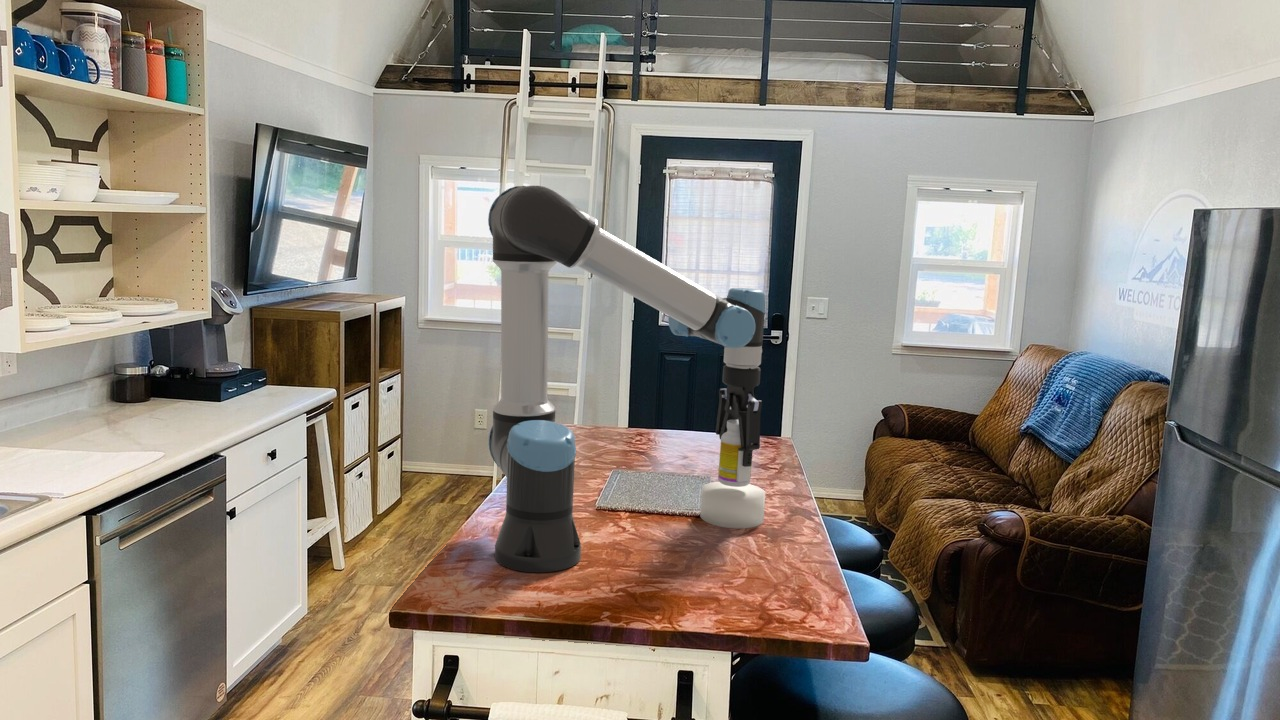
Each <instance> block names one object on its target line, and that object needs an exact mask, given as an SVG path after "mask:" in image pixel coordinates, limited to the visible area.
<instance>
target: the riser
mask: <svg viewBox="0 0 1280 720" xmlns="http://www.w3.org/2000/svg"><path fill="white" fill-rule="evenodd" d="M701 487H702V488H701V497H700V498H701V501H700V515H699V517H700V519H701V520H703V521H704V522H706V523H708V524H711V525H712V526H716V527H720V528H727V529H751V528H755V527H758V526H761V525H762V524H763V523H764V519H765V504H766V491H765V490H764V489H763V488H761V487H759V486H757V485H755V484H754V485H753V484H751V483H749V484H748V485H747V486H742V487H734V486H727V485H724V484H722V483H720V482H719V481H713V482H708V483H706V484H704V485H702V486H701Z"/></svg>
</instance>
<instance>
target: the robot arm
mask: <svg viewBox="0 0 1280 720" xmlns="http://www.w3.org/2000/svg"><path fill="white" fill-rule="evenodd" d="M487 219H488V221H487V222H488V227H489V229H488V230H489V232H490V235H491V236H492V262H493V263H494V264H495V265H496V266H497V267H498V268H499V270H500V272H501V273H500V274H501V275H500V278H501V279H500V282H501V283H500V285H501V287H500V291H501V292H500V293H501V295H500V296H501V297H500V298H501V301H500V303H501V304H500V305H501V306H500V307H501V309H500V316H501V317H500V318H501V319H500V324H501V325H500V326H501V327H500V329H501V330H500V353H501V354H500V355H501V356H500V358H501V359H500V361H501V362H500V368H501V369H500V374H501V375H500V384H501V386H500V387H501V388H500V393H501V394H500V399H499V401H498V402H497V403H496V404H495V405H494V406H493V407H492V426H491V427H490V430H489V434H488V449H489V453H490V456H491V458H492V460H493V461H494V463H495V465H496V466H497V467H498V468H499V469H500V470H501V471H502V473H503V474H504V476H505V477H506V499H505V500H506V501H505V502H506V507H505V509H506V510H505V515H504V516H505V517H504V519H503V521H502V524H501V527H500V529H499V533H498V536H497V539H496V541H495V545H494V559H495V561H496V562H497V563H498V564H499V565H501V566H502V567H505V568H508V569H510V570H514V571H518V572H519V571H520V572H527V573H551V572H559V571H563V570H566V569H569V568H571V567H574V566H575V565H577V564H578V563H579V562H580V560H581V557H582V555H581V553H582V544H581V542H580V541H581V540H580V538H579V533H578V530H577V527H576V524H575V521H574V516H573V511H574V510H573V509H574V506H573V505H574V486H575V485H574V484H575V483H574V482H575V461H576V455H577V446H576V439H575V434H574V432H573V431H572V430H571V428H569V427H568V426H566V425H564V424H562V423H557V422H556V406H554V404H553V403H552V402H551V401H550V400H549V399H548V377H549V376H548V375H549V374H548V370H549V369H548V367H549V366H548V365H549V364H548V363H549V362H548V360H549V357H548V356H549V354H548V353H549V351H548V350H549V343H548V342H549V272H550V271H551V269H552V268H553V267H555V266H556V264H557V263H559V264H561V265H563V266H565V267H567V268H568V269H572V268H575V267H579V268H581V269H582V270H584V271H586V272H588V273H590V274H591V275H593V276H595V277H597V278H598V279H600V280H602V281H604V282H605V283H608V284H610V285H611V286H613V287H615V288H617V289H619V290H621V291H622V292H624V293H626V294H628V295H629V296H631V297H633V298H635V299H637V300H639V301H641V302H642V303H645V304H646V305H648V306H650V307H652V308H653V309H655V310H657V311H659V312H661V313H662V314H664V315H666V316H668V317H667V318H668V321H667V322H668V328H669V329H670V331H671V333H672V334H673V335H674V336H682V337H686V338H688V337H698V338H700V339H704V340H707V341H710V342H713V343H715V344H718V345H721V346H723V347H724V349H723V352H724V353H723V363H724V365H723V369H722V383H723V384H725V385H726V386H727V387H726V388H719V389H718V408H717V417H716V425H715V434H716V435H717V436H719V440H720V441H721V436H722V435H723V434H724V433H725V432H727V421H728V420H739V430H740V440H741V448H738V450H739V452H738V466H737V480H736V481H737V482H745V481H750V482H751V479H750V474H751V475H752V466H751V464H753V452H754V451H756V450H759V449H760V448H761V444H760V443H761V413H762V408H763V407H762V406H763V401H762V400H760V399H758V400H757V399H756V398H755V393H754V392H755V391H754V389H755V388H756V387H758V386H759V385H760V382H761V372H762V371H761V367H759V366H760V365H761V364H762V353H763V348H762V347H763V339H764V328H765V327H764V326H765V315H766V313H767V312H766V295H765V292H764V291H763V290H761V289H756V288H749V287H745V288H744V287H736V288H735V287H732V288H730V289H729V290H728V293H727V295H726V297H723V298H722V297H720V296H719V295H717V294H715V293H713V292H712V291H710V290H709V289H706V287H703V286H701V285H699V284H698V283H696V282H694V281H693V280H691V279H689V278H687V277H685V275H682V274H680V273H679V272H677V271H675V270H674V269H672V268H670V267H669V266H667V265H665V264H664V263H661V262H660V261H658V260H657V259H655V258H653V257H651V256H650V255H648V254H646V253H645V252H643V251H641V250H639V249H638V248H636V247H634V246H633V245H632V244H631V245H630V244H629V243H627V242H625V241H624V240H622V239H620V238H619V237H617V236H615V235H613V234H611V233H610V232H608V231H606V230H604V229H603V228H601V227H600V226H599V222H598V219H597V218H596V217H594V216H592V215H591V214H589V213H587V212H586V211H585V210H583V209H582V208H580V207H579V206H577V205H575V204H574V203H572V202H571V201H569V200H568V199H566V198H565V197H564V196H562V195H561V194H559V193H558V192H556V191H555V190H553V189H551V188H548V187H546V186H542V185H517V186H513V187H510V188H507V189H506V190H504V191H502V192H501V193H500V194H499V195H498V196H497V197H496V198H495V200H493V202H492V204H491V205H490V208H489V212H488V217H487Z"/></svg>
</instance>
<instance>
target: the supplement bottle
mask: <svg viewBox="0 0 1280 720" xmlns="http://www.w3.org/2000/svg"><path fill="white" fill-rule="evenodd" d="M719 446H720V449H719V460H718V461H719V462H718V474H717V481H718V482H720V483H722V484H724V485H727V486H734V487H742V486H747V485H748V484H751V477H752V473H751V474H750V481H745V482H737V481H736V480H737V466H738V452H739V450H738V448H741V440H740V430H739V420H738V419H737V420H728V421H727V432H725V433H724V434H723V435H722V436H721V440H720V445H719ZM752 464H753V463H752ZM752 464H751V467H752Z"/></svg>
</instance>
